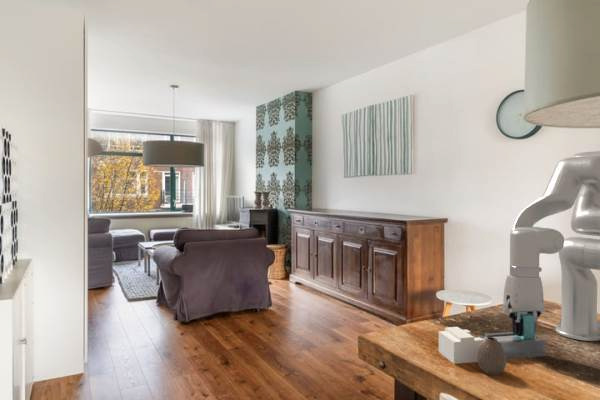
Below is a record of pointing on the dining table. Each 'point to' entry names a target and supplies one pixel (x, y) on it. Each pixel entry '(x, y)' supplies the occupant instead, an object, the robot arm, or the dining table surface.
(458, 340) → the socket block
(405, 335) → the dining table surface
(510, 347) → the guide channel
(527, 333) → the teal-tipped grey beam
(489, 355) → the vase
